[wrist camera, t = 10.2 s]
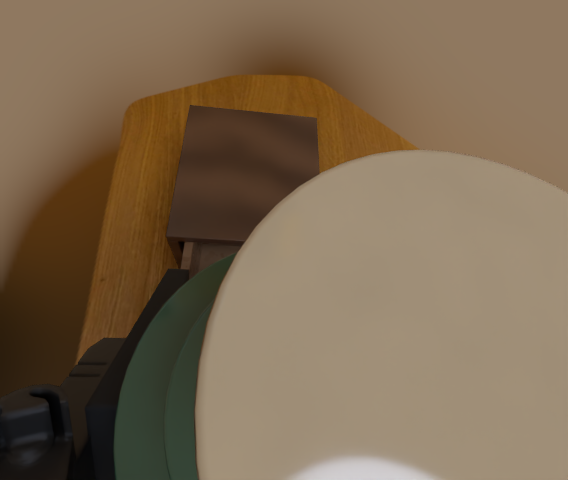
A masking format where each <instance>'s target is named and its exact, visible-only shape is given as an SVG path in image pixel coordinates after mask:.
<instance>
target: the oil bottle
mask: <svg viewBox="0 0 568 480" xmlns="http://www.w3.org/2000/svg"><path fill="white" fill-rule="evenodd" d="M113 457H114V472H115V480H568V193H567V192H565V191H564V190H562V189H560V188H558V187H557V186H555V185H553V184H550V183H548V182H546V181H544V180H542V179H540V178H538V177H536V176H533V175H531V174H529V173H527V172H524V171H521V170H519V169H516V168H513V167H510V166H508V165H505V164H503V163H499V162H495V161H492V160H488V159H484V158H481V157H477V156H472V155H466V154H461V153H455V152H449V151H448V152H447V151H434V150H402V151H392V152H385V153H379V154H373V155H369V156H365V157H362V158H358V159H355V160H351V161H348V162H345V163H343V164H340V165H338V166H336V167H333V168H331V169H329V170H327V171H324V172H322V173H320V174H319V175H317V176H315V177H314V178H312V179H311V180H309V181H307V182H306V183H304V184H302V185H301V186H299V187H298V188H296V189H295V190H294V191H293V192H291V193H290V194H289V195H288V196H286V197H285V198H284V199H283V200H281V201H280V202H279V203H278V204H277V205H275V206H274V207H273V208H272V209H271V210H270V212H269V213H268V214H267V215H266V216H265V217H264V218H263V219H262V220H261V221H260V222H259V223H258V224H257V226H256V227H255V228H254V229H253V230H252V232H251V233H250V235H249V236H248V237H247V239H246V240H245V242H244V243H243V245H242V246H241V248H240V249H239V250H238V252H236V253H233V254H231V255H229V256H227V257H225V258H223V259H220V260H218V261H216V262H214V263H213V264H211V265H209V266H208V267H206V268H205V269H203V270H202V271H200V272H198V273H197V274H196V275H194V276H193V277H192V278H191V279H190V280H188V281H187V282H186V283H185V284H183V285H182V286H181V287H180V288H179V289H178V290H177V291H176V292H175V293H174V294H173V295H172V296H171V297H170V298H169V299H168V300H167V301H166V302H165V304H164V305H163V306H162V308H161V309H160V310H159V311H158V313H157V314H156V315H155V317H154V318H153V319H152V321H151V322H150V324H149V325H148V327H147V329H146V331H145V332H144V334H143V336H142V337H141V339H140V341H139V343H138V344H137V347H136V349H135V351H134V354H133V356H132V358H131V360H130V363H129V365H128V367H127V371H126V374H125V377H124V381H123V384H122V387H121V390H120V394H119V400H118V405H117V411H116V417H115V425H114V442H113Z"/></svg>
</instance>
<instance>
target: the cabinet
mask: <svg viewBox="0 0 568 480" xmlns="http://www.w3.org/2000/svg"><path fill="white" fill-rule="evenodd" d="M317 175H319V154H318V135H317V118H313V117H303V116H293V115H283V114H273V113H263V112H253V111H243V110H234V109H224V108H214V107H204V106H194V105H190V108H189V113H188V119H187V124H186V129H185V135H184V140H183V146H182V151H181V157H180V162H179V167H178V173H177V178H176V184H175V189H174V194H173V200H172V205H171V211H170V216H169V222H168V227H167V232H166V238H167V240H168V243H169V245H170V248H171V250H172V252H173V255H174V257H175V260H176V262H177V264H178V267H179V269H181V262H182V256H183V249H184V243H185V242H200V243H217V244H234V245H243V243H244V242H245V240H246V239H247V237H248V236H249V235H250V233H251V232H252V230H253V229H254V228H255V227H256V226H257V224H258V223H259V222H260V221H261V220H262V219H263V218H264V217H265V216H266V215H267V214H268V213H269V212H270V210H271V209H272V208H273V207H274V206H275V205H277V204H278V203H279V202H280V201H281V200H283V199H284V198H285V197H286V196H288V195H289V194H290V193H291V192H293V191H294V190H295V189H296V188H298V187H299V186H301V185H302V184H304V183H306V182H307V181H309V180H311V179H312V178H314V177H315V176H317Z"/></svg>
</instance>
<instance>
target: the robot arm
mask: <svg viewBox="0 0 568 480" xmlns="http://www.w3.org/2000/svg"><path fill="white" fill-rule="evenodd" d="M188 280H189V269H168V270H167V272H166V273H165V275H164V277H163V278H162V280H161V282H160V283H159V285H158V287H157V288H156V290H155V292H154V293H153V295H152V297H151V298H150V300H149V302H148V303H147V305H146V307H145V308H144V310H143V312H142V313H141V315H140V317H139V318H138V320H137V321H136V323H135V325H134V326H133V328H132V330H131V331H130V333H129V335H128V336H127V338H103V339H102V340H100V341H99V342H97V343H96V344H94V345H93V346H91V347H90V348H89V349H87V351H86V352H85V354H84V355H83V356H82V358H81V359H80V360H79V362H78V365H76V366H75V367H74V368H73V370H72V371H71V373H70V374H69V377H67V378H66V379H65V380H64V382H63V383H62V384H61V386H60V387H59V386H55V385H50V384H42V385H32V386H28V387H25V388H22V389H18V390H15V391H13V392H11V393H9V394H7V395H5V396H3V397H1V398H0V480H115V472H114V457H113V442H114V425H115V417H116V411H117V405H118V400H119V394H120V390H121V387H122V384H123V381H124V377H125V374H126V371H127V367H128V365H129V363H130V360H131V358H132V356H133V354H134V351H135V349H136V347H137V344H138V343H139V341H140V339H141V337H142V336H143V334H144V332H145V331H146V329H147V327H148V325H149V324H150V322H151V321H152V319H153V318H154V317H155V315H156V314H157V313H158V311H159V310H160V309H161V308H162V306H163V305H164V304H165V302H166V301H167V300H168V299H169V298H170V297H171V296H172V295H173V294H174V293H175V292H176V291H177V290H178V289H179V288H180V287H181V286H182V285H183V284H185V283H186V282H187V281H188Z"/></svg>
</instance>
